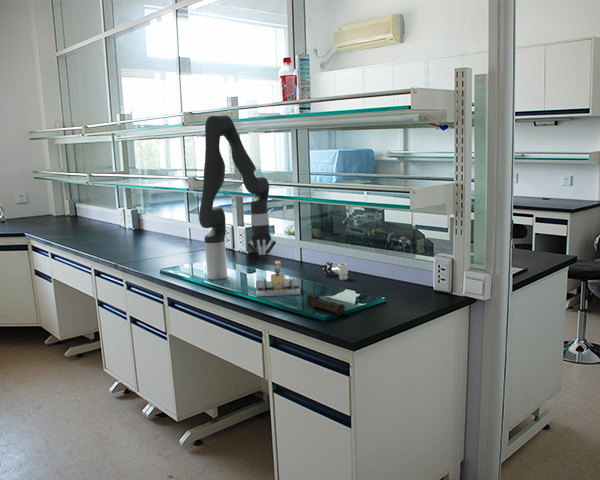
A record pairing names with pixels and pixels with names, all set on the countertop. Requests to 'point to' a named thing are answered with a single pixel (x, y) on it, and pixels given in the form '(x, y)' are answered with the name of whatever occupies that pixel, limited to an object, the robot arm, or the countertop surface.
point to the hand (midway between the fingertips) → (263, 262)
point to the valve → (336, 270)
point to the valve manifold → (278, 286)
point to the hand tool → (325, 304)
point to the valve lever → (277, 267)
